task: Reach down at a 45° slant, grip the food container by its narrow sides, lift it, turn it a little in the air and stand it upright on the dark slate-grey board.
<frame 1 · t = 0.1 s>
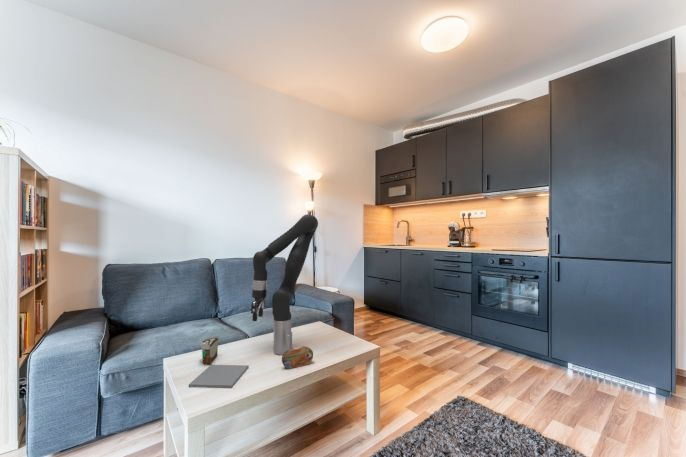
hand: (257, 318, 154), 17 cm above the table, tool pointing down, fingers open, 8 cm apart
slate board: (220, 376, 126), on the table
tin: (297, 366, 136), on the table
food container: (207, 361, 142), on the table
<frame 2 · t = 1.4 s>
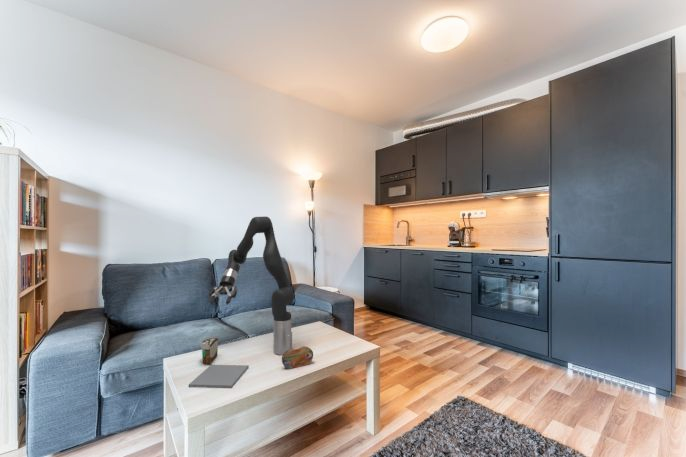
hand: (219, 303, 154), 25 cm above the table, tool tilted 45°, fingers open, 8 cm apart
nothing on the table moved.
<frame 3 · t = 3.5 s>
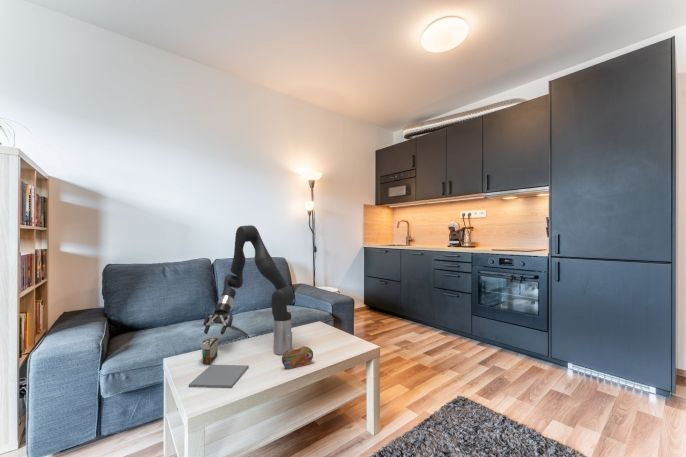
hand: (213, 333, 148), 11 cm above the table, tool tilted 45°, fingers open, 8 cm apart
nothing on the table moved.
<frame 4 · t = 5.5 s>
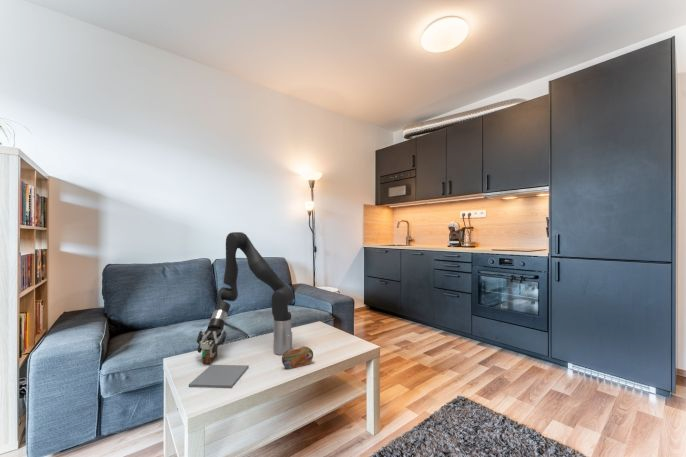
hand: (206, 352, 140), 5 cm above the table, tool tilted 45°, fingers closed on food container, 6 cm apart
food container: (207, 361, 142), on the table, touching gripper
everything else where it was.
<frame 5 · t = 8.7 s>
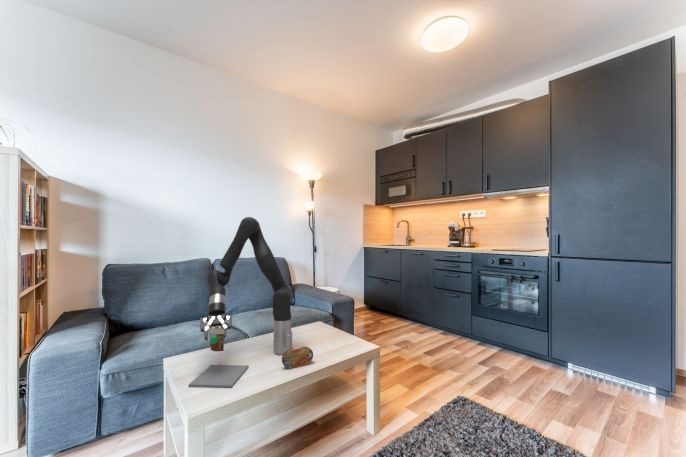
hand: (215, 338, 128), 16 cm above the table, tool tilted 45°, fingers closed on food container, 6 cm apart
food container: (215, 348, 129), point 11 cm above the table, touching gripper
everything else where it was.
when the fingers open (7 cm above the table, at t = 11.8 s): food container drops 1 cm, resting on slate board.
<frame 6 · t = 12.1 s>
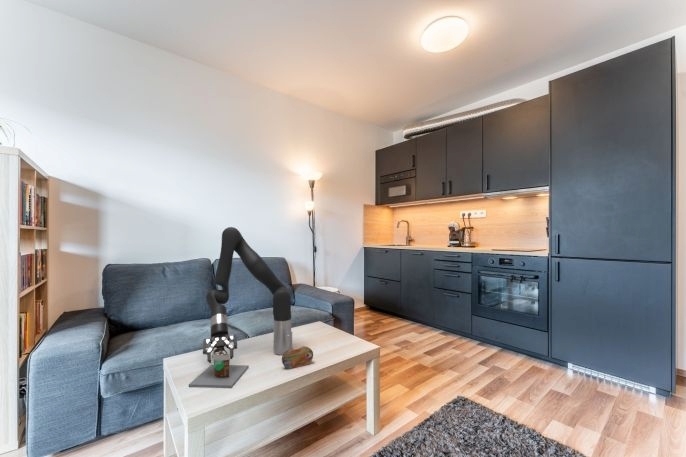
hand: (220, 360, 125), 8 cm above the table, tool tilted 45°, fingers open, 8 cm apart
food container: (219, 374, 126), point 1 cm above the table, touching slate board
everything else where it was.
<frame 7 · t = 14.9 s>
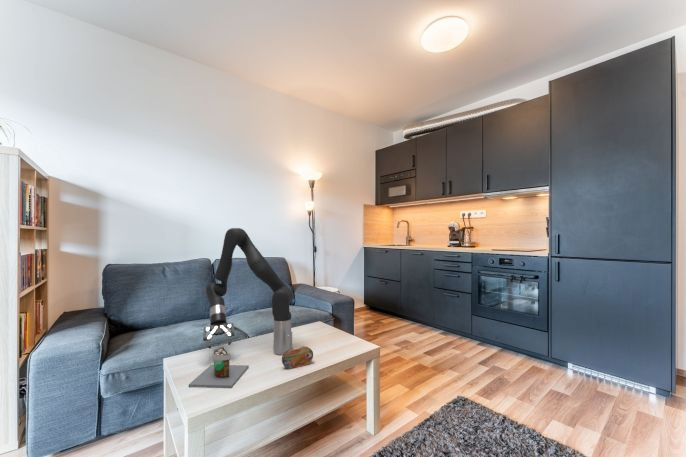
hand: (219, 345, 138), 9 cm above the table, tool tilted 45°, fingers open, 8 cm apart
nothing on the table moved.
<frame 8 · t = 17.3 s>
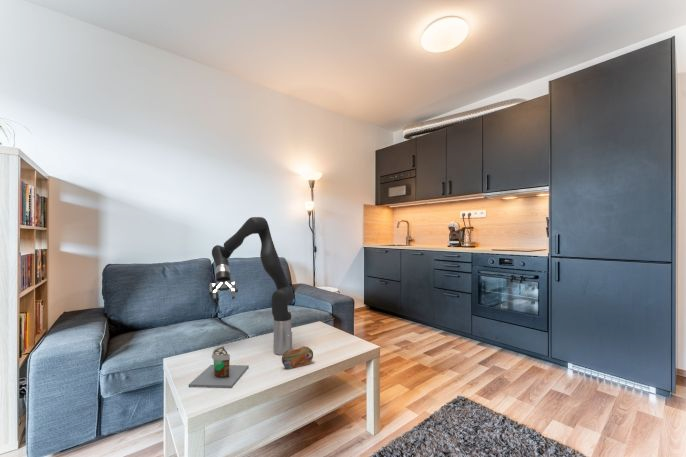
hand: (224, 299, 150), 29 cm above the table, tool tilted 45°, fingers open, 8 cm apart
nothing on the table moved.
at the end: food container inside the target area on the slate board (0.5 cm from its centre), point 0.8 cm above the slate board's base; food container tilted 0°; the gripper is holding nothing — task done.
